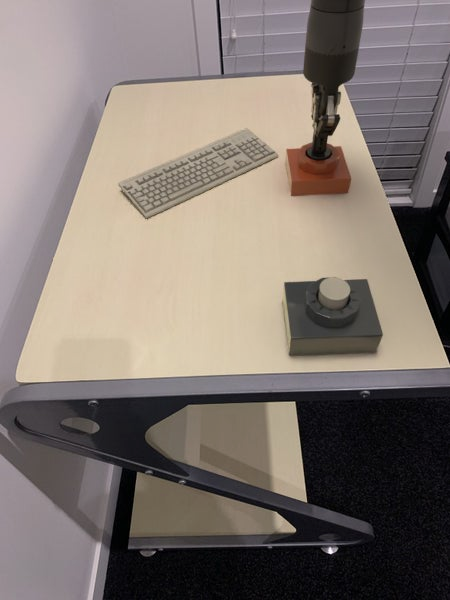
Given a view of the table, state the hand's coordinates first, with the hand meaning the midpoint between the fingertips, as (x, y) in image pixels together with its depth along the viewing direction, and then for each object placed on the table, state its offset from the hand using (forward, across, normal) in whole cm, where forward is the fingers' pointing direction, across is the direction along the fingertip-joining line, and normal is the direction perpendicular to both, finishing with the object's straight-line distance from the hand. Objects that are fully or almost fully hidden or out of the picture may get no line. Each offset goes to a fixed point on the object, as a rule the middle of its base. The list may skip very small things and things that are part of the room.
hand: (318, 151), depth 74 cm
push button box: (+5, -33, +3) cm, 34 cm away
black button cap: (+2, 0, 0) cm, 2 cm away
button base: (+5, 0, 0) cm, 5 cm away
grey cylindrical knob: (0, -33, +3) cm, 33 cm away
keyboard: (+6, +3, +21) cm, 22 cm away
